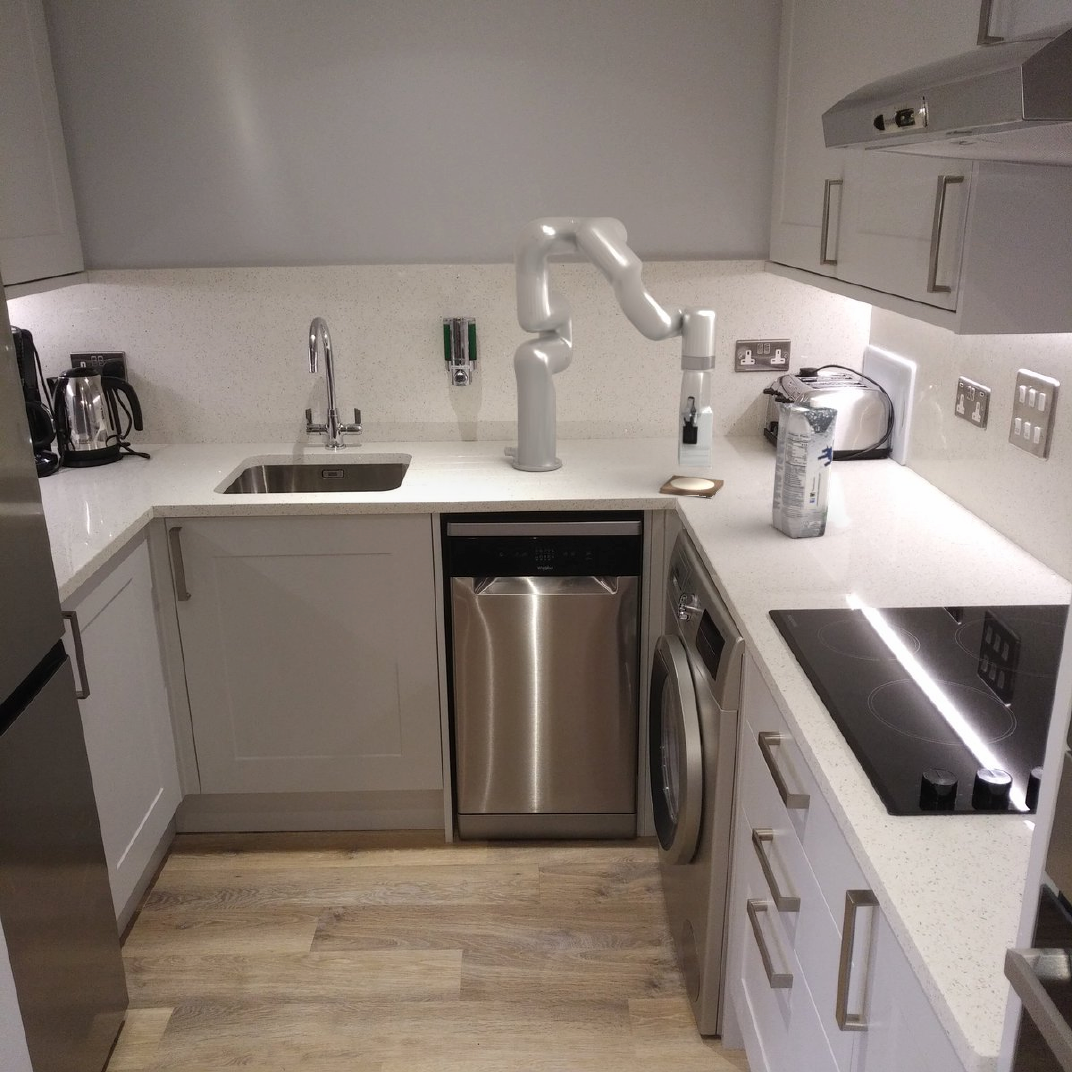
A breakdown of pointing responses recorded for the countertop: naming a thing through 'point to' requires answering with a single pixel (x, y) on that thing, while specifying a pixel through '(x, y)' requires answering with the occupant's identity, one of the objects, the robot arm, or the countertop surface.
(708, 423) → the supplement box
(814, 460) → the juice carton
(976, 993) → the countertop surface
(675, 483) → the board
